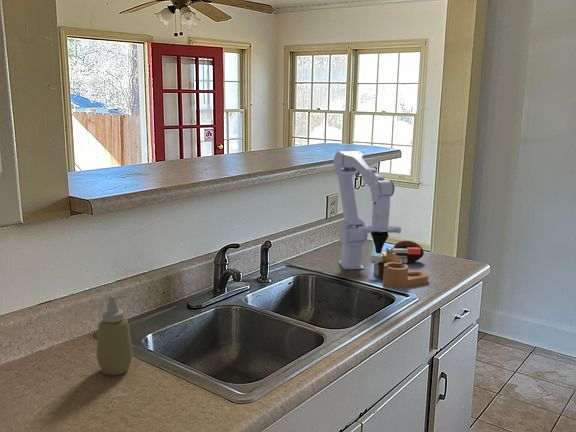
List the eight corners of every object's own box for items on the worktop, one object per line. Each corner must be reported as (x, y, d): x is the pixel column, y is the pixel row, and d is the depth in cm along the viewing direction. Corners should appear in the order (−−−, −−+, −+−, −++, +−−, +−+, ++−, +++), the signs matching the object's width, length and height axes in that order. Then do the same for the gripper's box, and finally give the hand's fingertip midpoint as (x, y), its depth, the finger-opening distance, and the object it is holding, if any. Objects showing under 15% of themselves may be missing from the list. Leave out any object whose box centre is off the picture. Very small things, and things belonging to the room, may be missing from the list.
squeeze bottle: (113, 382, 122) (110, 306, 118) (89, 372, 126) (85, 298, 122) (141, 368, 129) (138, 295, 125) (117, 358, 133) (114, 288, 129)
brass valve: (368, 272, 203) (369, 251, 201) (402, 272, 204) (403, 251, 203) (372, 278, 197) (374, 256, 195) (407, 277, 199) (409, 256, 197)
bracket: (393, 290, 186) (394, 270, 185) (377, 282, 193) (379, 263, 192) (432, 282, 195) (434, 264, 193) (417, 275, 202) (418, 257, 200)
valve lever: (387, 254, 198) (387, 249, 197) (385, 252, 200) (385, 247, 200) (420, 254, 199) (420, 249, 199) (418, 252, 201) (418, 247, 201)
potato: (386, 259, 221) (387, 239, 219) (406, 255, 227) (408, 236, 225) (407, 267, 211) (408, 246, 209) (427, 263, 217) (429, 242, 215)
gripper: (363, 217, 184) (360, 256, 187) (404, 217, 186) (401, 255, 189) (358, 212, 191) (355, 250, 194) (398, 212, 193) (395, 250, 196)
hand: (378, 252), depth 192 cm, fingers closed
